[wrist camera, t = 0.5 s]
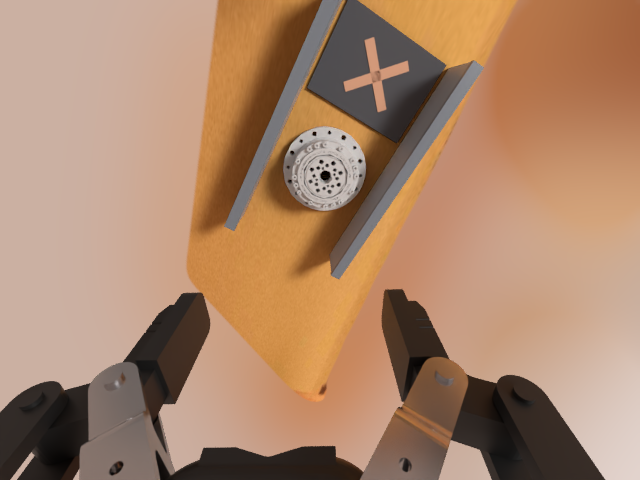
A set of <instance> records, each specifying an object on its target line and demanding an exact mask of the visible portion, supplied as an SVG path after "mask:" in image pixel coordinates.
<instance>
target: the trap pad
mask: <svg viewBox="0 0 640 480" xmlns="http://www.w3.org/2000/svg"><path fill="white" fill-rule="evenodd" d="M445 67H446V65H445V64H444V63H443V62H441V61H440V60H438V59H437V58H436V57H434V56H433V55H432V54H430V53H429V52H427V51H426V50H425V49H423V48H422V47H421V46H419V45H418V44H416V43H415V42H414V41H412V40H411V39H410V38H408V37H407V36H406V35H404V34H403V33H401V32H400V31H399V30H397V29H396V28H395V27H393V26H392V25H390V24H389V23H388V22H386V21H385V20H384V19H382V18H381V17H379V16H378V15H377V14H375V13H374V12H373V11H371V10H370V9H368V8H367V7H366V6H364V5H363V4H362V3H360V2H359V1H357V0H348V1H347V3H346V5H345V7H344V10H343V12H342V14H341V16H340V18H339V20H338V22H337V25H336V27H335V29H334V31H333V33H332V35H331V38H330V40H329V42H328V44H327V46H326V48H325V50H324V53H323V55H322V57H321V59H320V61H319V63H318V65H317V68H316V70H315V72H314V74H313V76H312V78H311V80H310V83H309V85H308V87H307V88H308V89H310V90H311V91H313V92H315V93H316V94H318V95H320V96H321V97H323V98H324V99H326V100H328V101H329V102H331V103H332V104H334V105H336V106H337V107H339V108H341V109H342V110H344V111H345V112H347V113H349V114H350V115H352V116H354V117H355V118H357V119H358V120H360V121H362V122H363V123H365V124H366V125H368V126H370V127H371V128H373V129H375V130H376V131H378V132H379V133H381V134H383V135H384V136H386V137H388V138H389V139H391V140H392V141H394V142H396V143H397V142H398V141H399V139H400V138H401V136H402V134H403V133H404V131H405V130H406V128H407V127H408V125H409V123H410V122H411V120H412V119H413V117H414V116H415V114H416V112H417V111H418V109H419V108H420V106H421V104H422V103H423V101H424V100H425V98H426V97H427V95H428V93H429V92H430V90H431V89H432V87H433V86H434V84H435V82H436V81H437V79H438V78H439V76H440V74H441V73H442V71H443V70H444V68H445Z"/></svg>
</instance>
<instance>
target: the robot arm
mask: <svg viewBox="0 0 640 480" xmlns="http://www.w3.org/2000/svg"><path fill="white" fill-rule="evenodd" d="M209 329H210V318H209V314H208V310H207V307H206V303H205V299H204V296H203V294H202V293H183V294H181V296H180V297H179V299H178V300H177V302H176V303H175V304H174V305H169V306H168V307H167V308H165V309H164V310H163V311H162V312H160V313H159V314H158V316H157V317H156V318H155V320H154V321H153V322H152V325H150V326H149V328H148V329H147V330H146V333H144V335H143V336H142V337H141V338H140V340H139V341H138V342H137V344H136V345H135V347H134V348H133V349H132V351H131V352H130V354H129V355H128V356H127V357H126V359H125V360H124V361H123V362H122V363H118V364H116V365H113V366H111V367H109V368H107V369H105V370H104V371H102V372H101V373H100V374H99V375H97V376H96V377H95V378H94V380H93V381H92V382H91V383H89V384H86V385H82V386H79V387H75V388H71V389H68V390H64V389H63V388H62V386H61V385H60V384H59V383H58V382H55V381H49V382H44V383H40V384H38V385H35V386H33V387H31V388H29V389H27V390H25V391H24V392H22V393H21V394H19V395H18V396H17V397H15V398H14V399H13V400H12V401H11V402H10V403H9V404H8V405H7V406H6V407H5V408H4V409H3V410H2V411H1V412H0V480H10V479H11V478H12V477H13V475H14V474H15V473H16V471H17V470H18V469H19V467H20V466H21V465H22V463H23V462H24V461H25V459H26V458H27V457H28V455H29V454H30V453H31V452H32V453H33V454H34V455H35V456H34V458H33V459H32V460H31V462H30V463H29V464H28V466H27V467H26V468H25V470H24V471H23V472H22V474H21V475H20V476H19V478H18V479H17V480H73V478H74V477H75V475H76V473H77V472H78V470H79V468H80V475H79V480H438V479H439V475H440V472H441V469H442V466H443V463H444V460H445V457H446V453H447V450H448V447H449V444H450V441H451V440H453V441H456V442H459V443H462V444H465V445H468V446H471V447H474V448H477V449H480V451H481V453H482V456H483V458H484V461H485V463H486V466H487V468H488V471H489V473H490V476H491V478H492V480H605V479H604V477H603V476H602V475H601V473H600V472H599V470H598V469H597V467H596V466H595V464H594V463H593V461H592V460H591V459H590V457H589V456H588V454H587V453H586V452H585V450H584V449H583V447H582V446H581V444H580V443H579V441H578V440H577V438H576V437H575V435H574V434H573V433H572V431H571V430H570V428H569V427H568V425H567V424H566V423H565V421H564V420H563V418H562V417H561V415H560V414H559V412H558V411H557V410H556V408H555V407H554V405H553V404H552V402H551V401H550V400H549V398H548V396H547V395H546V394H545V393H544V392H543V391H542V390H541V389H540V388H539V387H538V386H537V385H535V384H534V383H532V382H531V381H529V380H527V379H525V378H522V377H519V376H515V375H506V376H503V377H501V378H500V379H499V380H498V382H497V383H493V382H489V381H485V380H481V379H478V378H474V377H471V376H469V375H467V374H466V373H465V372H464V370H463V369H462V368H461V367H460V366H459V365H458V364H456V363H455V362H453V361H451V360H450V359H449V358H448V355H447V353H446V351H445V349H444V347H443V345H442V343H441V341H440V339H439V337H438V335H437V333H436V331H435V329H434V328H433V325H432V323H431V321H430V320H429V317H428V315H427V313H426V311H425V309H424V308H423V307H422V306H421V305H420V304H419V303H418V302H416V301H408V300H407V298H406V295H405V293H404V291H403V290H402V289H393V290H385V291H384V299H383V309H382V329H383V333H384V337H385V341H386V344H387V348H388V352H389V355H390V359H391V363H392V366H393V370H394V374H395V378H396V382H397V385H398V389H399V393H400V396H401V400H402V402H404V404H403V406H402V407H401V408H400V407H398V408H397V410H396V411H395V413H394V415H393V417H392V419H391V421H390V423H389V424H388V427H387V428H386V430H385V432H384V434H383V436H382V438H381V440H380V442H379V444H378V446H377V448H376V450H375V452H374V454H373V455H372V458H371V459H370V461H369V464H368V465H367V467H366V469H365V471H364V472H362V471H361V470H360V469H359V468H358V467H356V466H355V465H353V464H352V463H350V462H348V461H346V460H344V459H341V458H337V457H336V449H335V446H317V447H316V446H315V447H313V446H310V447H309V446H308V447H300V448H297V449H293V450H290V451H287V452H284V453H280V454H277V455H274V456H270V457H266V456H262V455H259V454H255V453H252V452H248V451H245V450H243V449H239V448H236V447H231V448H203V451H202V454H201V458H200V460H198V461H195V462H193V463H191V464H189V465H187V466H185V467H183V468H181V469H180V470H178V471H177V472H175V470H174V467H173V464H172V461H171V458H170V454H169V449H168V445H167V442H166V437H165V433H164V429H163V425H162V421H161V417H160V414H159V411H160V409H161V407H162V405H163V404H175V403H176V401H177V399H178V397H179V395H180V392H181V390H182V388H183V386H184V384H185V381H186V380H187V378H188V376H189V374H190V371H191V369H192V367H193V365H194V363H195V361H196V359H197V357H198V354H199V352H200V350H201V348H202V346H203V344H204V342H205V339H206V337H207V335H208V333H209Z"/></svg>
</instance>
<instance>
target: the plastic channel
mask: <svg viewBox="0 0 640 480" xmlns="http://www.w3.org/2000/svg"><path fill="white" fill-rule="evenodd" d="M341 2H342V0H322V3H321V5H320V7H319V9H318V12H317V14H316V16H315V19H314V21H313V23H312V26H311V28H310V30H309V32H308V35H307V37H306V39H305V42H304V44H303V46H302V49H301V51H300V53H299V55H298V58H297V60H296V62H295V65H294V67H293V69H292V72H291V74H290V76H289V78H288V81H287V83H286V85H285V88H284V90H283V92H282V95H281V97H280V99H279V101H278V104H277V106H276V108H275V111H274V113H273V115H272V118H271V120H270V122H269V124H268V127H267V129H266V131H265V134H264V136H263V138H262V140H261V143H260V145H259V147H258V150H257V152H256V154H255V157H254V159H253V161H252V163H251V166H250V168H249V170H248V173H247V175H246V177H245V180H244V182H243V184H242V186H241V189H240V191H239V193H238V196H237V198H236V200H235V203H234V205H233V207H232V209H231V212H230V214H229V216H228V219H227V221H226V223H225V226H224V227H227V228H229V229H231V230H233V231H234V230H235V229H236V226H237V224H238V223H239V221H240V220H241V218H242V216H243V215H244V213H245V211H246V209H247V207H248V205H249V202H250V200H251V198H252V196H253V194H254V191H255V189H256V187H257V185H258V183H259V181H260V178H261V176H262V174H263V172H264V170H265V167H266V165H267V163H268V161H269V159H270V157H271V154H272V152H273V150H274V148H275V146H276V144H277V141H278V139H279V137H280V135H281V133H282V130H283V128H284V126H285V124H286V122H287V120H288V117H289V115H290V113H291V111H292V109H293V106H294V104H295V102H296V100H297V98H298V96H299V93H300V91H301V89H302V87H303V85H304V82H305V80H306V78H307V76H308V74H309V72H310V69H311V67H312V65H313V63H314V61H315V58H316V56H317V54H318V52H319V50H320V48H321V45H322V43H323V41H324V39H325V37H326V34H327V32H328V30H329V28H330V26H331V24H332V21H333V19H334V17H335V15H336V13H337V11H338V8H339V6H340V4H341ZM483 69H484V67H482V66H481V65H480V64H478V63H477V62H476V61H471V62H470V63H466V64H462V65H459V66H455V67H451V68H449V69H448V70H447V72H446V73H445V75H444V76H443V78H442V80H441V81H440V83H439V84H438V86H437V87H436V89H435V91H434V92H433V94H432V95H431V97H430V98H429V100H428V102H427V103H426V105H425V106H424V108H423V109H422V111H421V112H420V114H419V116H418V117H417V119H416V120H415V122H414V123H413V125H412V127H411V128H410V130H409V131H408V133H407V134H406V136H405V137H404V139H403V141H402V142H401V144H400V145H399V147H398V148H397V150H396V152H395V153H394V155H393V156H392V158H391V159H390V161H389V163H388V164H387V166H386V167H385V169H384V170H383V172H382V173H381V175H380V177H379V178H378V180H377V181H376V183H375V184H374V186H373V188H372V189H371V191H370V192H369V194H368V195H367V197H366V199H365V200H364V202H363V203H362V205H361V206H360V208H359V209H358V211H357V213H356V214H355V216H354V217H353V219H352V220H351V222H350V224H349V225H348V227H347V228H346V230H345V231H344V233H343V235H342V236H341V238H340V239H339V241H338V242H337V244H336V245H335V247H334V249H333V250H332V252H331V253H330V264H331V276H333V277H335V278H337V279H340V277H341V276H342V275H343V273H344V272H345V270H346V269H347V267H348V266H349V264H350V263H351V261H352V260H353V259H354V257H355V256H356V254H357V253H358V251H359V250H360V248H361V247H362V245H363V244H364V242H365V241H366V240H367V238H368V237H369V235H370V234H371V232H372V231H373V229H374V228H375V226H376V225H377V223H378V222H379V221H380V219H381V218H382V216H383V215H384V213H385V212H386V210H387V209H388V207H389V206H390V205H391V203H392V202H393V200H394V199H395V197H396V196H397V194H398V193H399V191H400V190H401V188H402V187H403V186H404V184H405V183H406V181H407V180H408V178H409V177H410V175H411V174H412V172H413V171H414V169H415V168H416V167H417V165H418V164H419V162H420V161H421V159H422V158H423V156H424V155H425V153H426V152H427V150H428V149H429V148H430V146H431V145H432V143H433V142H434V140H435V139H436V137H437V136H438V134H439V133H440V132H441V130H442V129H443V127H444V126H445V124H446V123H447V121H448V120H449V118H450V117H451V115H452V114H453V113H454V111H455V110H456V108H457V107H458V105H459V104H460V102H461V101H462V99H463V98H464V96H465V95H466V94H467V92H468V91H469V89H470V88H471V86H472V85H473V83H474V82H475V80H476V79H477V77H478V76H479V75H480V73H481V72H482V70H483Z"/></svg>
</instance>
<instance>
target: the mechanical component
mask: <svg viewBox="0 0 640 480" xmlns="http://www.w3.org/2000/svg"><path fill="white" fill-rule="evenodd" d="M329 131H330V132H331V133H330V134H329V133H328V132H329ZM313 132H316V135H314V136H313V134H312V133H313ZM342 135H345V136H346V137H345V138H344V139H342V138H341V137H342ZM300 139H301V140H303V142H300ZM353 146H355V148H353ZM290 151H294V154H292V153H290ZM359 159H361V162H358V160H359ZM320 160H323V161H322V163H321V162H320ZM333 161H334V162H335V163H333V164H332V163H331V162H333ZM342 162H343V163H342ZM287 166H289V167H287ZM318 166H319V167H318ZM305 167H306V168H305ZM311 167H312V168H314V169H310V168H311ZM317 167H318V168H317ZM334 168H335V170H334ZM345 168H346V170H345ZM323 170H326V171H329V172H330V173H329V174H328V175H325V176H323V175H321V172H322V171H323ZM304 171H305V172H304ZM283 173H284V179H285V183H286V185H287V187H288V189H289V191H290V193H291V194H292V195H293V196H294V198H295V199H296V200H297V201H298V202H300V203H301V204H303V205H304V206H307V207H309V208H311V209H315V210H320V211H328V210H333V209H337V208H340V207H342V206H344V205H346V204H347V203H348V202H350V201H351V200H353V198H354V197H355V196H356V195H357V194H358V192H359V191H360V189H361V187H362V185H363V183H364V179H365V175H366V163H365V157H364V154H363V152H362V150H361V148H360V146H359V145H358V143H357V142H356V141H355V140H354V139H353V138H352V137H351V136H350V135H349V134H347V133H345V132H344V131H342V130H340V129H337V128H334V127H327V126H321V127H315V128H313V129H310V130H308V131H305V132H303V133H302V134H301V135H300V136H299V137H297V138H296V139H295V140H294V141H293V143H292V144H291V145H290V147H289V149H288V151H287V153H286V155H285V159H284V166H283ZM360 174H361V175H360ZM329 175H330V178H329V179H327V180H326V181H324V180H322V179H321V177H326V178H328V176H329ZM331 176H332V177H331ZM335 177H337V178H335ZM288 179H289V180H292V181H291V182H290V181H288ZM320 179H321V180H320Z"/></svg>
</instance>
